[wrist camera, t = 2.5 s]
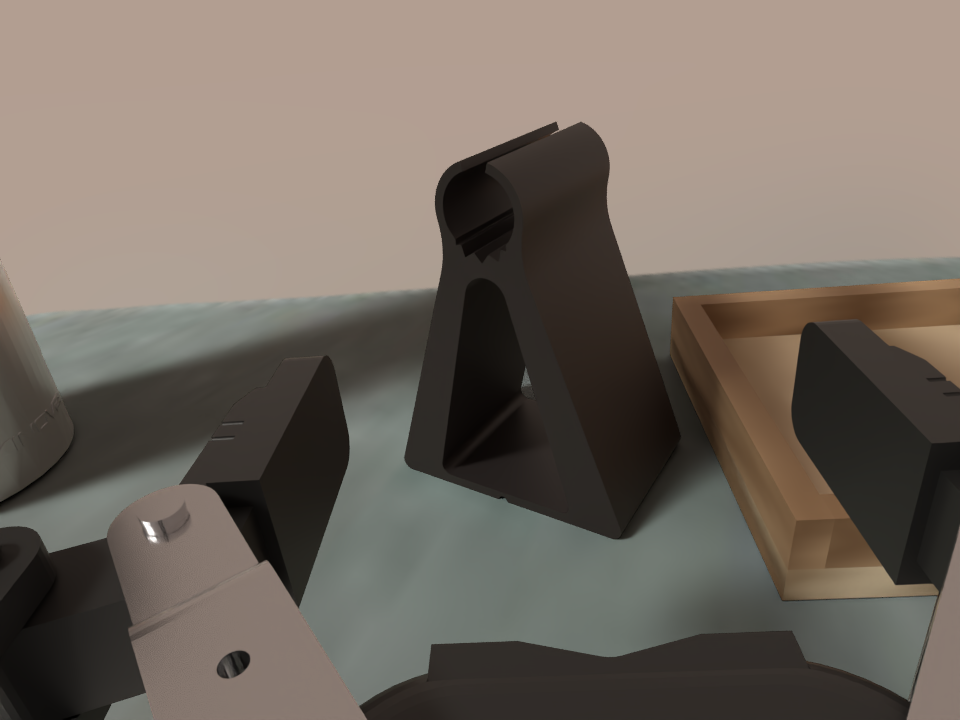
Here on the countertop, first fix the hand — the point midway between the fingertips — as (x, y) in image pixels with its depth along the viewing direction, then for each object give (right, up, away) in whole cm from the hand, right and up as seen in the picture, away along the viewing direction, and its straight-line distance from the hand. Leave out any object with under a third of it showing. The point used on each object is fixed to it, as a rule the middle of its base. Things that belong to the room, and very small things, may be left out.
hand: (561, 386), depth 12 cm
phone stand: (+1, -3, +15) cm, 15 cm away
